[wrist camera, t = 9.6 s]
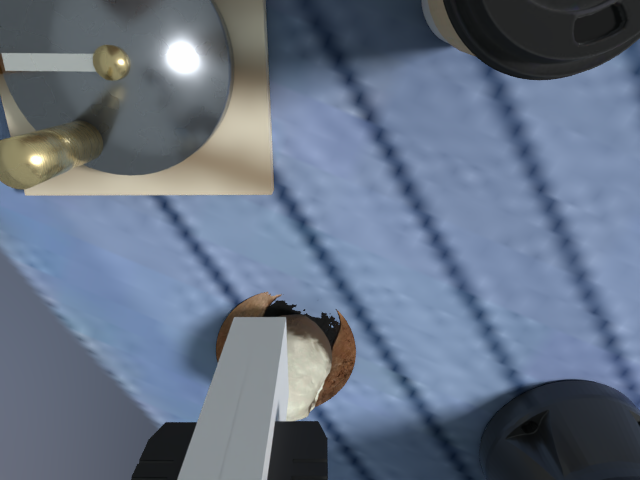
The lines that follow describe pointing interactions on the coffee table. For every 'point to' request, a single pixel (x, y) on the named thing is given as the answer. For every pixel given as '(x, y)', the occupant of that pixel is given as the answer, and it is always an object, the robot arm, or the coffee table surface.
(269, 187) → the base plate
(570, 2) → the coffee cup
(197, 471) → the robot arm
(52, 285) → the coffee table surface
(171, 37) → the turntable
